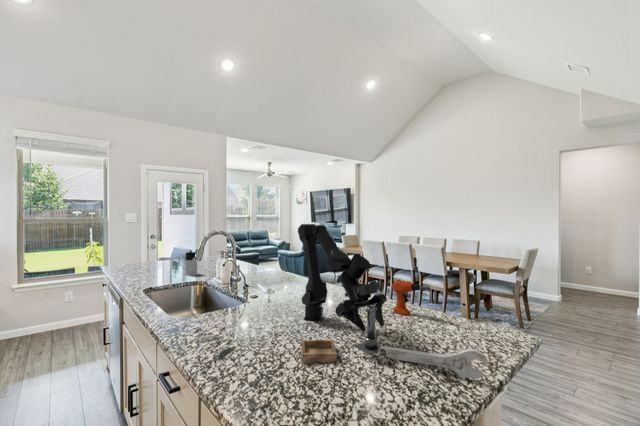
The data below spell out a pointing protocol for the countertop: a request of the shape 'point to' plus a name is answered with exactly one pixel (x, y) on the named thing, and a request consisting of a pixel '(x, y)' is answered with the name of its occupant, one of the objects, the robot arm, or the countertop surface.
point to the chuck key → (371, 329)
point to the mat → (370, 352)
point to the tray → (318, 351)
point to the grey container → (190, 264)
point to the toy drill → (404, 295)
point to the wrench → (441, 360)
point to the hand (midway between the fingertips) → (374, 328)
